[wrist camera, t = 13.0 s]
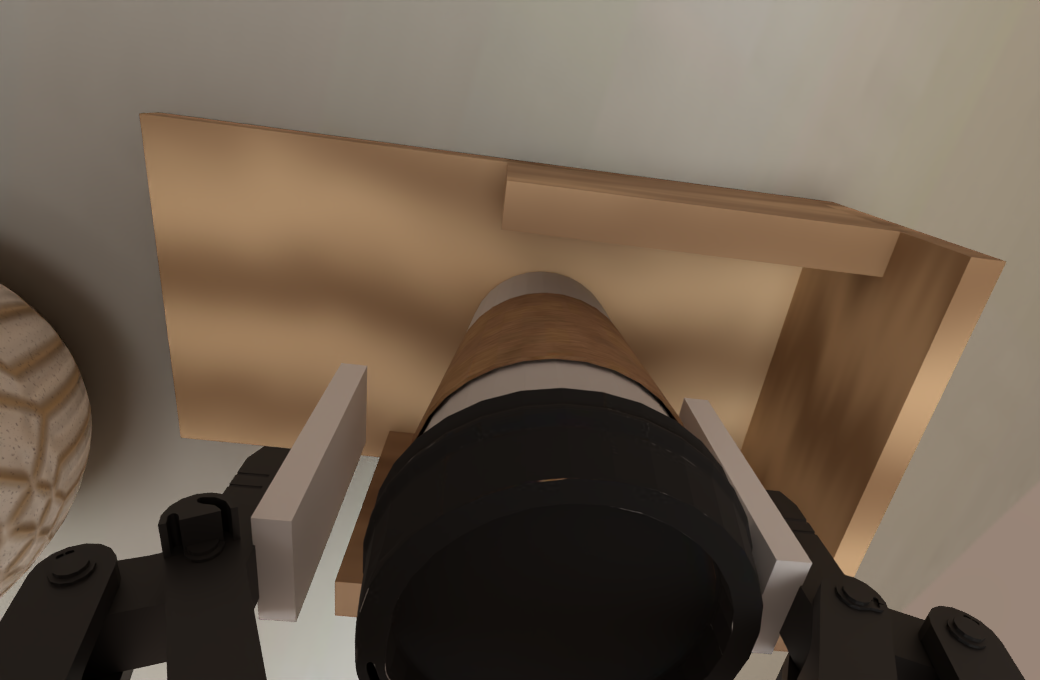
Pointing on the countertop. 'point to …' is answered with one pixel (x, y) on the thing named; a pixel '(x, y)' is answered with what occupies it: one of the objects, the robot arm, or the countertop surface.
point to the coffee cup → (554, 516)
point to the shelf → (566, 251)
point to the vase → (36, 435)
